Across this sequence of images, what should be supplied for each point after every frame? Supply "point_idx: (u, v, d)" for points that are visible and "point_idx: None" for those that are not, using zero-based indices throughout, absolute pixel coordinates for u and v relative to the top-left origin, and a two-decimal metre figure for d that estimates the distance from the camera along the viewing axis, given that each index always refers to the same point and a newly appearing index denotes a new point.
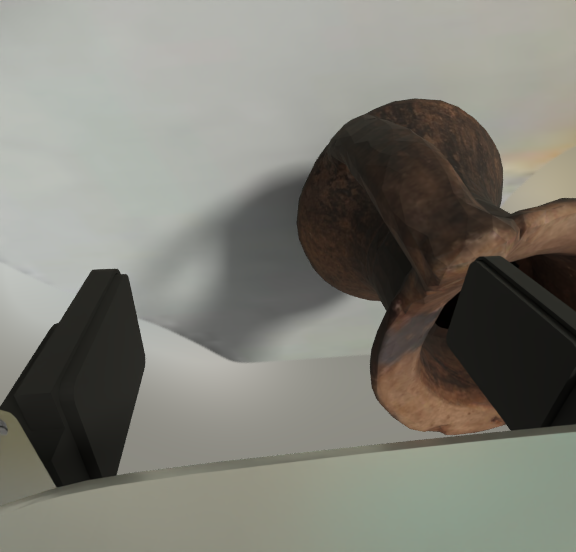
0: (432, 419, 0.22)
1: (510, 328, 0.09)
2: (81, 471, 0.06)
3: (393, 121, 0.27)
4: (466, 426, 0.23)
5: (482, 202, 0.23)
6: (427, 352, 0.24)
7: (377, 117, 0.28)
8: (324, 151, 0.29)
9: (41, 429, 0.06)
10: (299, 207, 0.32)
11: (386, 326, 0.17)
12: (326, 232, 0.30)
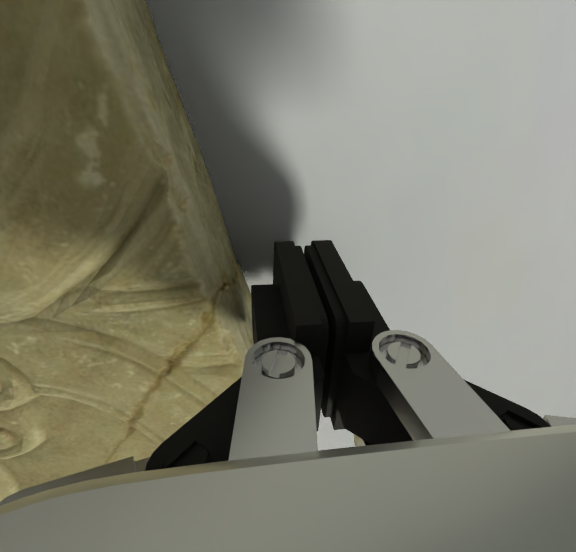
0: None
1: None
2: None
3: None
4: None
5: None
6: None
7: None
8: None
9: None
10: None
11: None
12: None
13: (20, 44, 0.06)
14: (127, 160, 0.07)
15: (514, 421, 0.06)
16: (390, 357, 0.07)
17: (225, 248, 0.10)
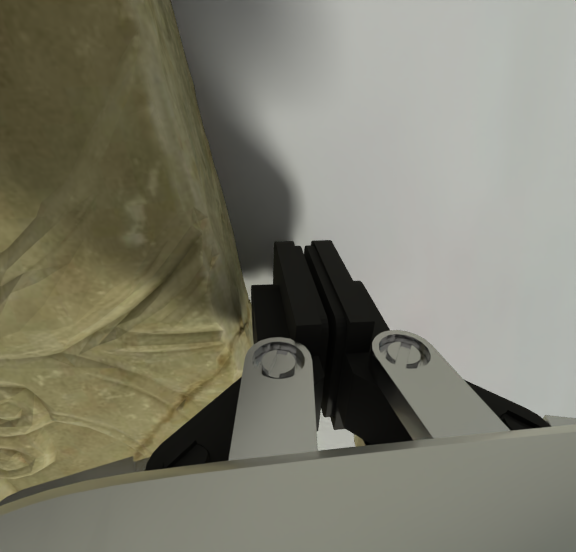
0: None
1: None
2: None
3: None
4: None
5: None
6: None
7: None
8: None
9: None
10: None
11: None
12: None
13: (83, 121, 0.07)
14: (168, 224, 0.08)
15: (514, 421, 0.06)
16: (390, 357, 0.07)
17: (241, 291, 0.11)
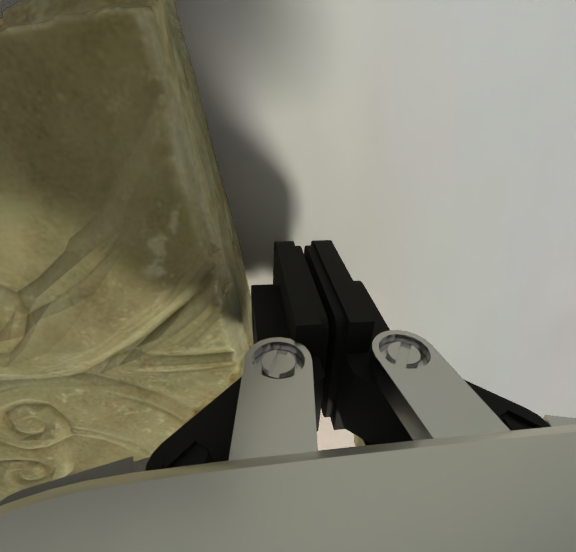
0: None
1: None
2: None
3: None
4: None
5: None
6: None
7: None
8: None
9: None
10: None
11: None
12: None
13: (111, 167, 0.08)
14: (186, 258, 0.08)
15: (514, 421, 0.06)
16: (390, 357, 0.07)
17: (250, 311, 0.12)
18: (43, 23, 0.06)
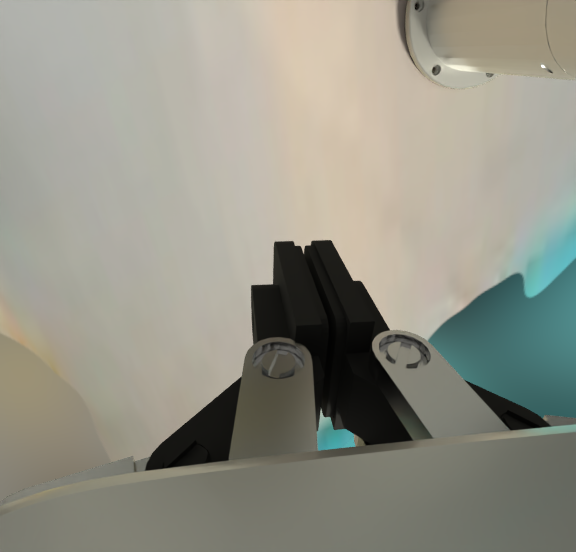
0: None
1: None
2: None
3: None
4: None
5: None
6: None
7: None
8: None
9: None
10: None
11: None
12: None
13: None
14: None
15: (514, 421, 0.06)
16: (390, 357, 0.07)
17: None
18: None
